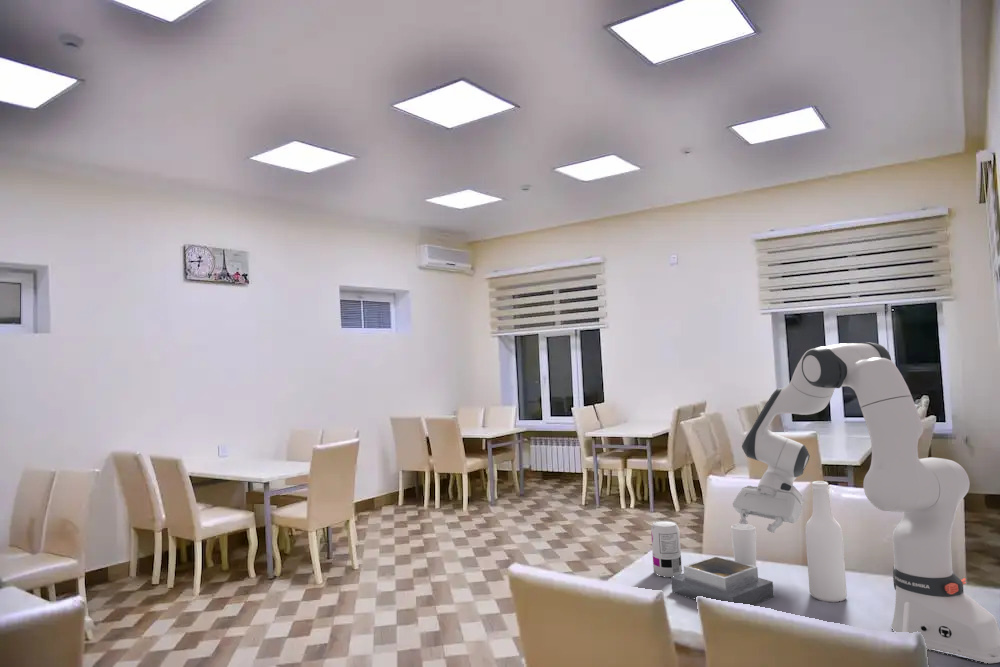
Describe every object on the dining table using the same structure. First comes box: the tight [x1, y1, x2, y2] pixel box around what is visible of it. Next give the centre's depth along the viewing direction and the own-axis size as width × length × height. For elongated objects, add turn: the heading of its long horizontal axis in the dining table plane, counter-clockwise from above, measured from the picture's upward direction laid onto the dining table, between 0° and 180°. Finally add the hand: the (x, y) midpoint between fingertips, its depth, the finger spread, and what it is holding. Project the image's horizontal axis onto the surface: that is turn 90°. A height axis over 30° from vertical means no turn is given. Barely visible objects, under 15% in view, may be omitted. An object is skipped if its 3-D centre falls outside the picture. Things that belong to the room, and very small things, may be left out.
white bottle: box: [804, 480, 848, 603], centre depth 171 cm, size 9×9×30 cm
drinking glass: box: [730, 523, 757, 567], centre depth 186 cm, size 7×7×15 cm
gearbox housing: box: [670, 555, 775, 606], centre depth 175 cm, size 20×17×8 cm
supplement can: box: [650, 520, 683, 578], centre depth 194 cm, size 8×8×15 cm
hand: (756, 528), depth 190 cm, fingers open, 8 cm apart
